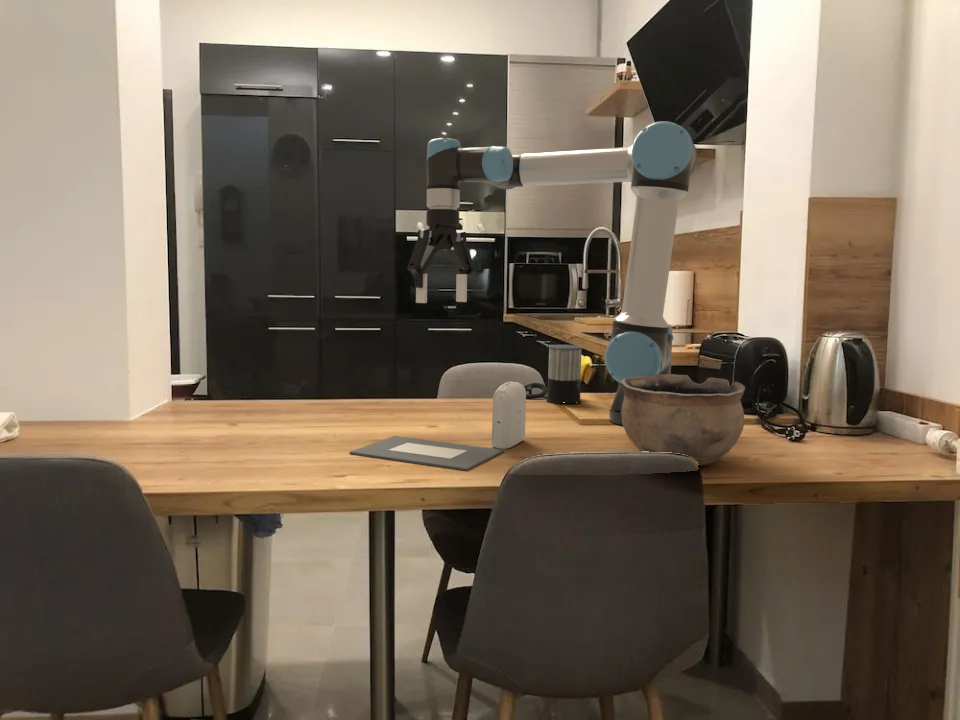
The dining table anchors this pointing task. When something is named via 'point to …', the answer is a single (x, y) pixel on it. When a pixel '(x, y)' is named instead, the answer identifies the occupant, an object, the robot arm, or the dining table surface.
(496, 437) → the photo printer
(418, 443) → the mat
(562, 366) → the milk frother
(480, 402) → the dining table surface
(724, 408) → the ceramic bowl
